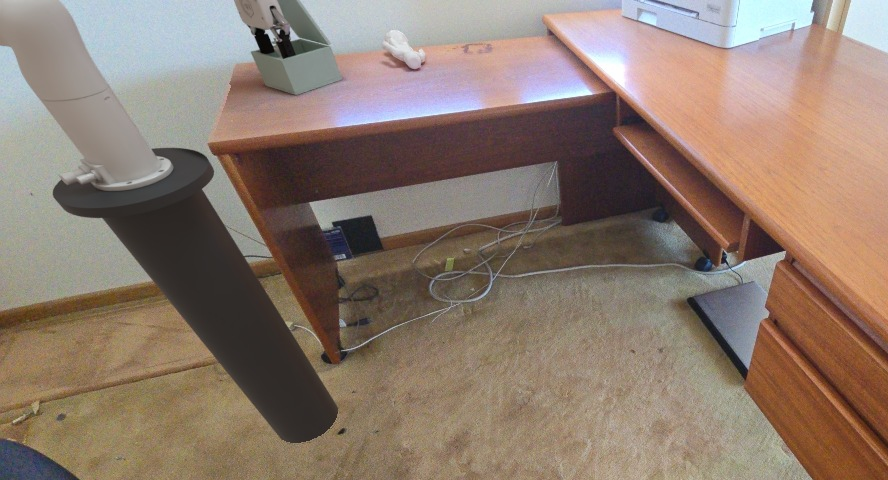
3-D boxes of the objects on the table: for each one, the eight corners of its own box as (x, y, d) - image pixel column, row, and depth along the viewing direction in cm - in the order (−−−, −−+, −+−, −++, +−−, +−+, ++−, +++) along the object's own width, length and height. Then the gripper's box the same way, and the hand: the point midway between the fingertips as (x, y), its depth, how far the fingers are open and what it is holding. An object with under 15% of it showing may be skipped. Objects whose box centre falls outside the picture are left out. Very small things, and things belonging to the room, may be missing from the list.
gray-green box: (296, 95, 126) (281, 60, 121) (265, 85, 130) (250, 51, 124) (342, 79, 135) (330, 46, 129) (312, 71, 139) (300, 38, 133)
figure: (372, 46, 149) (391, 70, 138) (372, 21, 145) (393, 44, 134) (412, 55, 156) (434, 78, 145) (414, 31, 152) (436, 53, 141)
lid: (285, -15, 116) (300, -29, 118) (252, -22, 120) (267, -35, 121) (329, 45, 129) (342, 32, 131) (298, 37, 133) (311, 24, 134)
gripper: (202, -36, 113) (242, 53, 126) (252, -26, 108) (288, 66, 120) (235, -40, 118) (270, 46, 130) (284, -30, 113) (317, 59, 125)
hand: (279, 55), depth 125 cm, fingers open, 7 cm apart
